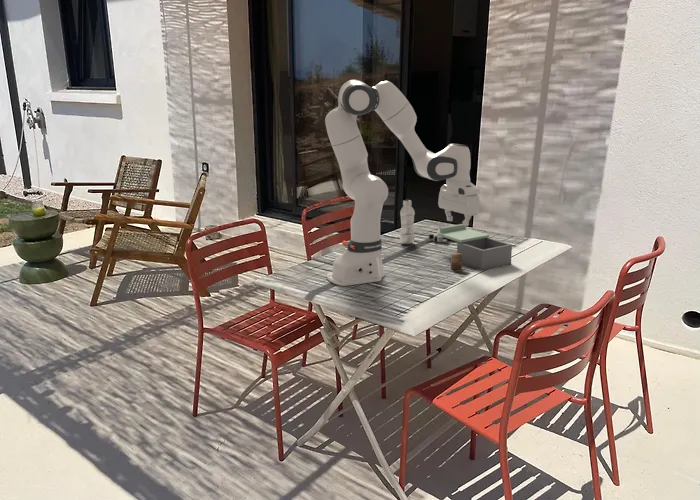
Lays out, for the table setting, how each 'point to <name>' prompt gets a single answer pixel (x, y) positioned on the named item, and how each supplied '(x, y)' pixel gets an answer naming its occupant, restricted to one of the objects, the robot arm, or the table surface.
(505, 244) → the housing
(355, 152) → the robot arm
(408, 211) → the plastic bottle
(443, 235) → the lid
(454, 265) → the brown rounded cylinder
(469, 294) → the table surface
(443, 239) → the robot toy
